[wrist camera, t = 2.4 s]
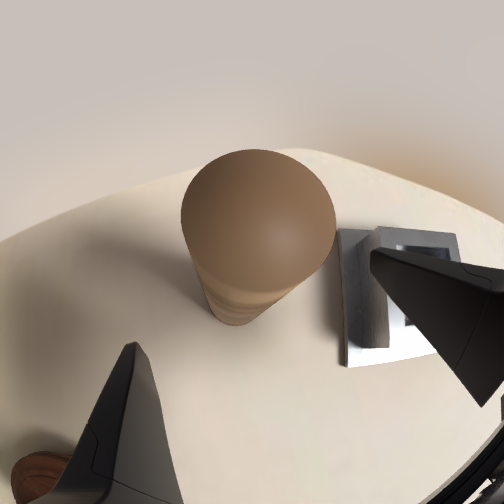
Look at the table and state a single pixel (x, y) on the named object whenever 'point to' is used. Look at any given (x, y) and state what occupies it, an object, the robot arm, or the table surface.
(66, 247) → the table surface
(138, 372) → the robot arm
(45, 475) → the brown wooden spool stand
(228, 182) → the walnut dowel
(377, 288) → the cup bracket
